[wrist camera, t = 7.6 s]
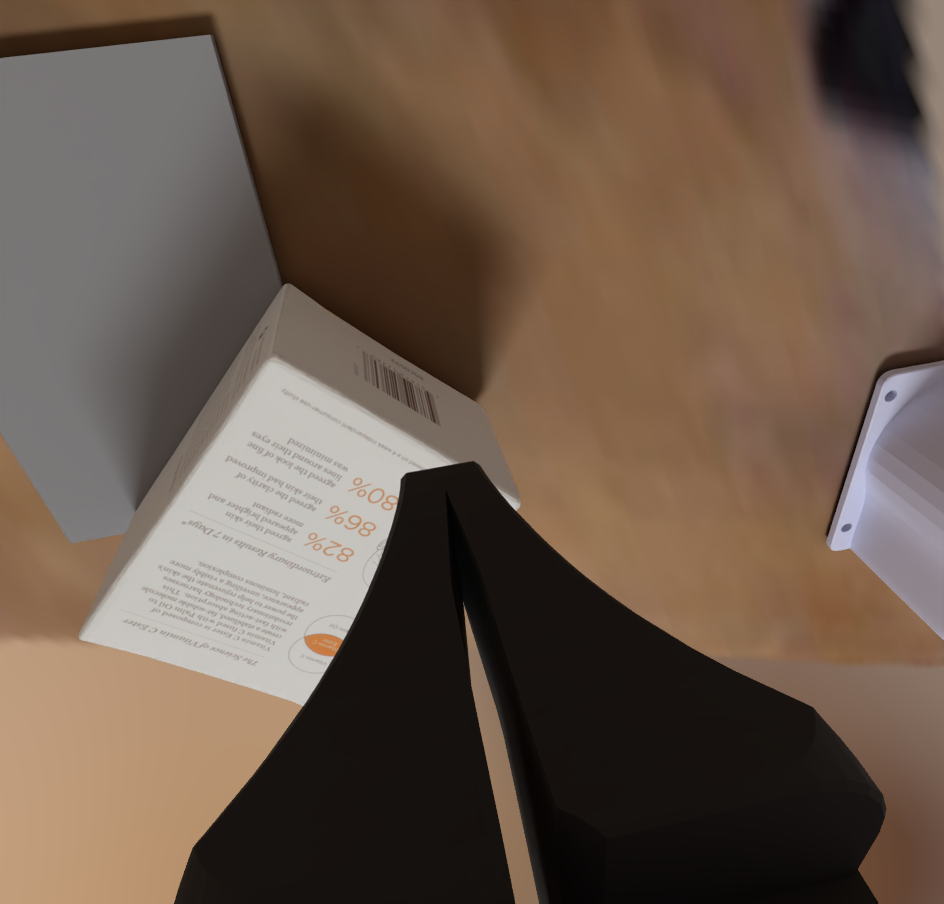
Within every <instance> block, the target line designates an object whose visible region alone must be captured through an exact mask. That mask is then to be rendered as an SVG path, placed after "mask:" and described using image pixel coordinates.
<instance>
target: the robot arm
mask: <svg viewBox="0 0 944 904" xmlns="http://www.w3.org/2000/svg"><path fill="white" fill-rule="evenodd" d="M888 392H889V393H888ZM887 393H888V394H887ZM886 394H887V395H886ZM826 544H827V545H828V546H829V547H830V548H831V549H832V550H834V551H839V550H844V549H849V548H850V549H851V550H852V551H853V552H854V553H855V554H856V555H857V556H858V557H859V558H860V559H861V560H862V561H863V562H865V563H866V564H867V565H868V566H869V567H870V568H871V569H872V570H873V571H874V572H875V573H876V574H877V575H878V576H879V577H880V578H881V579H882V580H883V581H884V582H885V583H886V584H887V585H888V586H889V587H890V588H891V589H892V590H893V591H894V592H895V593H896V594H897V595H898V596H899V597H900V598H901V599H902V600H903V601H904V602H905V603H906V604H907V605H908V606H909V607H910V608H911V609H912V610H913V611H914V612H915V613H916V614H917V615H918V616H919V617H921V618H922V619H923V620H924V621H925V622H926V623H927V624H928V625H929V626H930V627H931V628H932V629H933V630H934V631H935V632H936V633H937V634H938V635H939V636H940V637H941V638H942V639H943V640H944V360H943V361H938V362H932V363H927V364H921V365H916V366H910V367H904V368H899V369H893V370H890V371H887V372H885V373H884V374H882V375H881V377H880V378H879V379H878V381H877V384H876V387H875V390H874V393H873V396H872V399H871V403H870V406H869V409H868V412H867V415H866V418H865V421H864V425H863V428H862V431H861V434H860V437H859V440H858V443H857V447H856V450H855V453H854V456H853V459H852V462H851V466H850V469H849V472H848V475H847V478H846V481H845V484H844V488H843V491H842V494H841V497H840V500H839V503H838V507H837V510H836V513H835V516H834V519H833V522H832V525H831V529H830V532H829V535H828V538H827V543H826ZM463 602H464V605H463ZM464 606H465V609H466V612H467V615H468V619H469V622H470V625H471V628H472V632H473V635H474V638H475V641H476V644H477V648H478V651H479V654H480V657H481V660H482V664H483V667H484V670H485V673H486V676H487V680H488V683H489V686H490V689H491V692H492V696H493V699H494V702H495V705H496V709H497V712H498V716H499V720H500V723H501V727H502V731H503V734H504V739H505V744H506V748H507V753H508V758H509V762H510V767H511V772H512V776H513V781H514V785H515V790H516V795H517V800H518V804H519V809H520V814H521V819H522V823H523V828H524V833H525V837H526V842H527V846H528V852H529V856H530V861H531V866H532V870H533V876H534V881H535V885H536V890H537V895H538V899H539V904H878V901H877V900H876V898H875V897H874V895H873V894H872V892H871V890H870V889H869V887H868V885H867V884H866V882H865V881H864V879H863V877H862V876H861V874H860V872H859V871H858V868H859V866H860V864H861V863H862V861H863V859H864V858H865V856H866V854H867V853H868V851H869V849H870V847H871V846H872V844H873V842H874V841H875V839H876V837H877V836H878V834H879V832H880V829H881V826H882V824H883V821H884V818H885V812H886V806H885V802H884V797H883V794H882V793H881V792H880V790H879V789H878V787H877V786H876V785H875V783H874V782H873V780H872V779H871V778H870V776H869V775H868V773H867V772H866V771H865V769H864V768H863V767H862V765H861V764H860V762H859V761H858V760H857V758H856V757H855V756H854V755H853V753H852V752H851V751H850V750H849V748H848V747H847V746H846V745H845V744H844V742H843V741H842V740H841V739H840V737H839V736H838V735H837V734H836V733H835V732H834V731H833V730H832V729H831V727H830V726H829V725H828V724H827V723H826V722H825V721H824V720H823V719H822V717H821V716H820V715H819V714H818V713H817V712H816V710H815V709H814V708H813V707H811V706H809V705H807V704H805V703H803V702H801V701H798V700H796V699H794V698H792V697H790V696H787V695H785V694H783V693H781V692H779V691H777V690H775V689H773V688H770V687H768V686H766V685H764V684H761V683H760V682H757V681H755V680H753V679H751V678H749V677H747V676H744V675H742V674H740V673H738V672H736V671H734V670H732V669H730V668H728V667H726V666H724V665H722V664H720V663H719V662H717V661H715V660H713V659H711V658H709V657H707V656H706V655H704V654H702V653H700V652H698V651H696V650H694V649H693V648H691V647H689V646H688V645H686V644H684V643H683V642H681V641H679V640H678V639H676V638H675V637H673V636H671V635H670V634H668V633H666V632H665V631H663V630H662V629H660V628H658V627H657V626H655V625H653V624H652V623H650V622H649V621H647V620H645V619H644V618H642V617H640V616H639V615H637V614H636V613H634V612H633V611H632V610H630V609H629V608H627V607H626V606H625V605H623V604H622V603H620V602H619V601H617V600H616V599H615V598H613V597H612V596H610V595H609V594H608V593H606V592H605V591H604V590H602V589H601V588H600V587H599V586H597V585H596V584H595V583H593V582H592V581H591V580H589V579H588V578H587V577H586V576H584V575H583V574H582V573H581V572H580V571H578V570H577V569H576V568H575V567H574V566H572V565H571V564H570V563H569V562H568V561H567V560H565V559H564V558H563V557H562V556H561V555H560V554H559V553H558V552H557V551H556V550H554V549H553V548H552V547H551V546H550V545H549V544H548V543H547V542H546V541H545V540H544V539H543V538H542V537H541V536H540V535H539V534H538V533H537V532H536V531H535V530H534V529H533V528H532V527H531V526H530V525H529V524H528V523H527V522H526V521H525V520H524V519H523V518H522V517H521V516H520V515H519V514H518V513H517V512H516V510H515V509H514V508H513V507H512V506H511V505H510V504H509V503H508V501H507V500H506V499H505V498H504V497H503V495H502V494H501V493H500V492H499V491H498V489H497V488H496V487H495V486H494V484H493V483H492V482H491V480H490V479H489V478H488V476H487V475H486V473H485V472H484V470H483V469H482V467H481V466H480V465H479V464H478V463H476V462H475V461H470V462H464V463H458V464H453V465H447V466H442V467H436V468H431V469H425V470H420V471H414V472H408V473H405V475H404V476H403V477H402V478H401V481H400V492H399V498H398V503H397V507H396V511H395V515H394V519H393V523H392V526H391V529H390V532H389V535H388V538H387V541H386V545H385V548H384V551H383V554H382V556H381V559H380V562H379V564H378V567H377V569H376V571H375V574H374V576H373V579H372V581H371V584H370V586H369V588H368V591H367V593H366V596H365V598H364V600H363V602H362V604H361V606H360V609H359V611H358V613H357V615H356V617H355V619H354V621H353V623H352V625H351V627H350V629H349V630H348V632H347V634H346V636H345V638H344V640H343V642H342V644H341V645H340V647H339V649H338V651H337V652H336V654H335V656H334V657H333V659H332V661H331V663H330V664H329V666H328V668H327V669H326V671H325V673H324V674H323V676H322V678H321V679H320V681H319V683H318V684H317V686H316V687H315V689H314V691H313V692H312V694H311V695H310V697H309V698H308V700H307V701H306V703H305V704H304V706H303V707H302V709H301V710H300V712H299V713H298V714H297V716H296V717H295V719H294V720H293V721H292V723H291V724H290V726H289V727H288V728H287V730H286V731H285V732H284V734H283V735H282V737H281V738H280V740H279V741H278V742H277V744H276V745H275V747H274V748H273V749H272V751H271V752H270V754H269V755H268V756H267V758H266V759H265V760H264V762H263V763H262V764H261V765H260V767H259V768H258V769H257V771H256V772H255V773H254V775H253V776H252V777H251V778H250V779H249V781H248V782H247V783H246V784H245V786H244V787H243V788H242V789H241V790H240V792H239V793H238V794H237V795H236V797H235V798H234V799H233V800H232V801H231V803H230V804H229V805H228V806H227V807H226V809H225V810H224V811H223V812H222V813H221V815H220V816H219V817H218V818H217V820H216V821H215V822H214V823H213V824H212V825H211V827H210V828H209V829H208V830H207V832H206V833H205V834H204V835H203V836H202V837H201V839H200V840H199V841H198V842H197V843H196V845H195V846H194V847H193V849H192V851H191V854H190V857H189V859H188V862H187V865H186V868H185V871H184V874H183V877H182V880H181V883H180V886H179V889H178V892H177V895H176V899H175V902H174V904H515V900H514V894H513V890H512V884H511V879H510V874H509V869H508V864H507V859H506V854H505V848H504V843H503V838H502V834H501V829H500V823H499V819H498V814H497V809H496V804H495V800H494V795H493V790H492V785H491V780H490V775H489V770H488V766H487V761H486V756H485V751H484V746H483V741H482V736H481V732H480V727H479V722H478V717H477V712H476V707H475V702H474V697H473V692H472V687H471V679H470V668H469V658H468V646H467V636H466V626H465V615H464Z"/></svg>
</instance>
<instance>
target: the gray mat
mask: <svg viewBox="0 0 944 904" xmlns="http://www.w3.org/2000/svg"><path fill="white" fill-rule="evenodd" d="M282 287H283V284H282V281H281V277H280V273H279V270H278V266H277V263H276V259H275V256H274V252H273V248H272V245H271V241H270V238H269V234H268V230H267V227H266V223H265V220H264V216H263V212H262V209H261V205H260V202H259V198H258V194H257V191H256V187H255V184H254V180H253V176H252V173H251V169H250V166H249V162H248V158H247V155H246V151H245V148H244V144H243V141H242V137H241V133H240V130H239V126H238V123H237V119H236V115H235V112H234V108H233V105H232V101H231V97H230V94H229V90H228V87H227V83H226V79H225V76H224V72H223V69H222V65H221V61H220V58H219V54H218V51H217V47H216V43H215V40H214V36H213V35H203V36H194V37H185V38H176V39H167V40H158V41H149V42H140V43H131V44H122V45H113V46H104V47H95V48H86V49H77V50H68V51H59V52H50V53H42V54H33V55H24V56H15V57H6V58H0V433H1V435H2V437H3V438H4V440H5V441H6V443H7V444H8V446H9V448H10V449H11V451H12V452H13V454H14V455H15V457H16V459H17V460H18V462H19V463H20V465H21V466H22V468H23V470H24V471H25V473H26V474H27V476H28V477H29V479H30V480H31V482H32V484H33V485H34V487H35V488H36V490H37V491H38V493H39V495H40V496H41V498H42V499H43V501H44V502H45V504H46V506H47V507H48V509H49V510H50V512H51V513H52V515H53V517H54V518H55V520H56V521H57V523H58V524H59V526H60V528H61V529H62V531H63V532H64V534H65V535H66V537H67V539H68V540H69V542H70V543H75V542H81V541H86V540H92V539H97V538H103V537H108V536H113V535H119V534H124V533H126V531H127V529H128V527H129V525H130V522H131V520H132V518H133V516H134V514H135V512H136V510H137V509H138V507H139V506H140V504H141V502H142V501H143V499H144V498H145V496H146V495H147V493H148V491H149V490H150V488H151V487H152V485H153V484H154V482H155V481H156V479H157V478H158V476H159V475H160V473H161V472H162V470H163V469H164V467H165V466H166V464H167V463H168V461H169V460H170V458H171V457H172V455H173V454H174V452H175V450H176V449H177V447H178V446H179V444H180V443H181V441H182V440H183V438H184V437H185V435H186V433H187V432H188V430H189V429H190V427H191V426H192V424H193V423H194V421H195V420H196V418H197V417H198V415H199V414H200V412H201V410H202V409H203V407H204V406H205V404H206V403H207V401H208V400H209V398H210V397H211V395H212V394H213V392H214V391H215V389H216V388H217V386H218V384H219V383H220V381H221V380H222V378H223V377H224V375H225V374H226V372H227V371H228V369H229V368H230V366H231V365H232V363H233V361H234V360H235V358H236V357H237V355H238V354H239V352H240V351H241V349H242V347H243V346H244V344H245V343H246V341H247V340H248V338H249V337H250V335H251V334H252V332H253V331H254V329H255V328H256V326H257V325H258V323H259V322H260V320H261V318H262V317H263V315H264V314H265V312H266V311H267V309H268V308H269V306H270V305H271V303H272V302H273V300H274V299H275V297H276V295H277V294H278V292H279V291H280V289H281V288H282Z"/></svg>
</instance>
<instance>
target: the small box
mask: <svg viewBox="0 0 944 904" xmlns="http://www.w3.org/2000/svg"><path fill="white" fill-rule="evenodd" d="M470 461H475V462H476V463H478V464H479V465H480V466H481V467H482V469H483V470H484V472H485V473H486V475H487V476H488V478H489V479H490V480H491V482H492V483H493V484H494V486H495V487H496V488H497V489H498V491H499V492H500V493H501V494H502V495H503V497H504V498H505V499H506V500H507V501H508V503H509V504H510V505H511V506H512V507H513V508H514V509H515V510H517V509H518V508H519V507H520V504H521V500H520V496H519V493H518V490H517V487H516V485H515V483H514V480H513V478H512V475H511V473H510V470H509V468H508V465H507V463H506V461H505V458H504V456H503V453H502V451H501V449H500V446H499V444H498V441H497V439H496V436H495V434H494V431H493V429H492V426H491V423H490V420H489V418H488V415H487V413H486V410H485V409H484V408H483V407H482V406H481V405H479V404H478V403H476V402H475V401H473V400H471V399H470V398H468V397H467V396H465V395H463V394H461V393H460V392H458V391H456V390H455V389H453V388H451V387H450V386H448V385H446V384H445V383H443V382H441V381H440V380H438V379H436V378H435V377H433V376H431V375H430V374H428V373H426V372H425V371H423V370H421V369H420V368H418V367H417V366H415V365H413V364H412V363H410V362H408V361H407V360H405V359H403V358H402V357H400V356H398V355H397V354H395V353H393V352H392V351H390V350H389V349H387V348H386V347H384V346H382V345H381V344H379V343H378V342H376V341H375V340H373V339H372V338H370V337H368V336H367V335H365V334H364V333H362V332H361V331H359V330H358V329H356V328H355V327H353V326H352V325H350V324H348V323H347V322H345V321H344V320H342V319H340V318H339V317H337V316H336V315H334V314H333V313H331V312H330V311H328V310H327V309H325V308H324V307H322V306H321V305H319V304H318V303H317V302H315V301H314V300H313V299H311V298H310V297H308V296H307V295H306V294H304V293H303V292H301V291H300V290H299V289H297V288H296V287H294V286H293V285H292V284H288V283H287V284H284V286H283V287H282V288H281V289H280V291H279V292H278V294H277V295H276V297H275V299H274V300H273V302H272V303H271V305H270V306H269V308H268V309H267V311H266V312H265V314H264V315H263V317H262V318H261V320H260V322H259V323H258V325H257V326H256V328H255V329H254V331H253V332H252V334H251V335H250V337H249V338H248V340H247V341H246V343H245V344H244V346H243V347H242V349H241V351H240V352H239V354H238V355H237V357H236V358H235V360H234V361H233V363H232V365H231V366H230V368H229V369H228V371H227V372H226V374H225V375H224V377H223V378H222V380H221V381H220V383H219V384H218V386H217V388H216V389H215V391H214V392H213V394H212V395H211V397H210V398H209V400H208V401H207V403H206V404H205V406H204V407H203V409H202V410H201V412H200V414H199V415H198V417H197V418H196V420H195V421H194V423H193V424H192V426H191V427H190V429H189V430H188V432H187V433H186V435H185V437H184V438H183V440H182V441H181V443H180V444H179V446H178V447H177V449H176V450H175V452H174V454H173V455H172V457H171V458H170V460H169V461H168V463H167V464H166V466H165V467H164V469H163V470H162V472H161V473H160V475H159V476H158V478H157V479H156V481H155V482H154V484H153V485H152V487H151V488H150V490H149V491H148V493H147V495H146V496H145V498H144V499H143V501H142V502H141V504H140V506H139V507H138V509H137V510H136V512H135V514H134V516H133V518H132V520H131V522H130V525H129V527H128V529H127V531H126V533H125V535H124V538H123V540H122V542H121V544H120V546H119V548H118V551H117V553H116V555H115V557H114V559H113V561H112V563H111V566H110V568H109V570H108V572H107V574H106V576H105V578H104V581H103V583H102V585H101V587H100V589H99V592H98V594H97V596H96V598H95V600H94V602H93V605H92V607H91V609H90V611H89V613H88V615H87V618H86V620H85V622H84V624H83V626H82V628H81V630H80V633H79V638H80V639H81V640H83V641H87V642H91V643H96V644H100V645H103V646H107V647H111V648H115V649H121V650H125V651H128V652H132V653H136V654H139V655H143V656H146V657H150V658H153V659H157V660H160V661H164V662H167V663H170V664H174V665H177V666H181V667H183V668H187V669H190V670H194V671H197V672H201V673H204V674H207V675H210V676H213V677H216V678H220V679H223V680H226V681H229V682H233V683H237V684H239V685H243V686H246V687H249V688H252V689H255V690H259V691H262V692H265V693H268V694H271V695H274V696H278V697H281V698H284V699H287V700H290V701H293V702H295V703H297V704H299V705H302V706H304V704H305V703H306V701H307V700H308V698H309V697H310V695H311V694H312V692H313V691H314V689H315V687H316V686H317V684H318V683H319V681H320V679H321V678H322V676H323V674H324V673H325V671H326V669H327V668H328V666H329V664H330V663H331V661H332V659H333V657H334V656H335V654H336V652H337V651H338V649H339V647H340V645H341V644H342V642H343V640H344V638H345V636H346V634H347V632H348V630H349V629H350V627H351V625H352V623H353V621H354V619H355V617H356V615H357V613H358V611H359V609H360V606H361V604H362V602H363V600H364V598H365V596H366V593H367V591H368V588H369V586H370V584H371V581H372V579H373V576H374V574H375V571H376V569H377V567H378V564H379V562H380V559H381V556H382V554H383V551H384V548H385V545H386V541H387V538H388V535H389V532H390V529H391V526H392V523H393V519H394V515H395V511H396V507H397V503H398V498H399V492H400V481H401V478H402V477H403V476H404V475H405V473H408V472H414V471H420V470H425V469H431V468H436V467H442V466H447V465H453V464H458V463H464V462H470Z"/></svg>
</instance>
